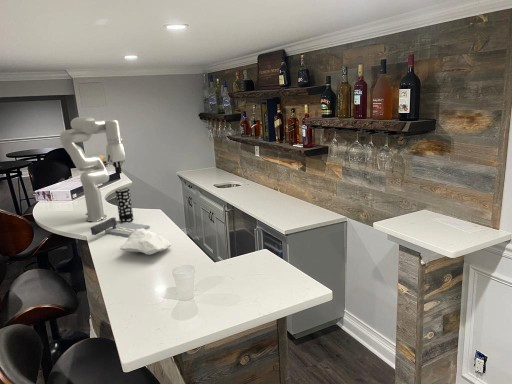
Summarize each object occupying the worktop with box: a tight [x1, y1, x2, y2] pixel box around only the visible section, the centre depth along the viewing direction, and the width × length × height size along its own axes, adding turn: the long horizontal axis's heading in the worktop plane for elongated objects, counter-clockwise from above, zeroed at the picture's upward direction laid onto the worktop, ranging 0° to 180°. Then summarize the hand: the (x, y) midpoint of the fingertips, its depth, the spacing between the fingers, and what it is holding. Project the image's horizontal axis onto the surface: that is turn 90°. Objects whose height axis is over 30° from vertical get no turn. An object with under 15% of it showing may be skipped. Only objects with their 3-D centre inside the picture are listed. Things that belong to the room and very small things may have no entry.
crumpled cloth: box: [119, 228, 172, 255], centre depth 191 cm, size 24×35×9 cm
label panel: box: [104, 222, 151, 238], centre depth 224 cm, size 19×16×3 cm
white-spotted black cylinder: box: [115, 188, 135, 224], centre depth 240 cm, size 8×8×20 cm
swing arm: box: [90, 217, 118, 236], centre depth 217 cm, size 19×3×4 cm, turn 162°
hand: (118, 173), depth 225 cm, fingers closed
